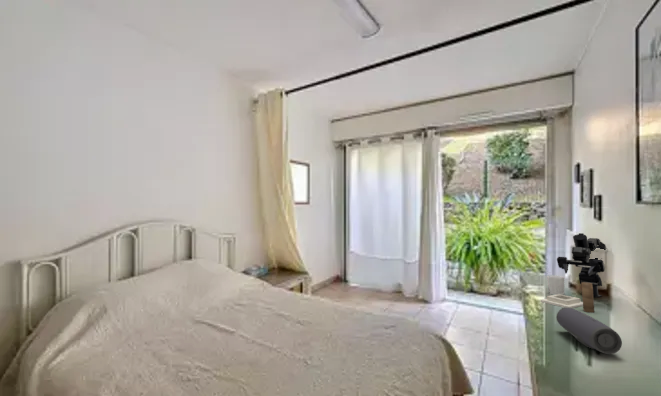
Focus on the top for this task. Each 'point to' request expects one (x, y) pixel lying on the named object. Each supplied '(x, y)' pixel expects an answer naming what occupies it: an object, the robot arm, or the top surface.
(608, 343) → the bluetooth speaker
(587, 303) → the dowel
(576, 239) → the robot arm
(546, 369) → the top surface
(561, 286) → the white cup
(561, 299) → the socket
